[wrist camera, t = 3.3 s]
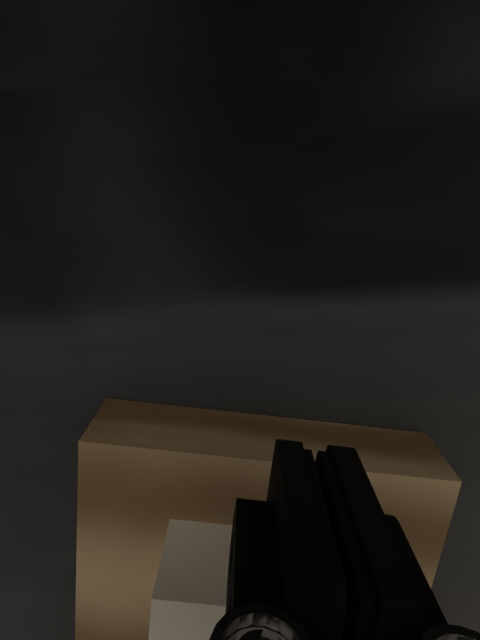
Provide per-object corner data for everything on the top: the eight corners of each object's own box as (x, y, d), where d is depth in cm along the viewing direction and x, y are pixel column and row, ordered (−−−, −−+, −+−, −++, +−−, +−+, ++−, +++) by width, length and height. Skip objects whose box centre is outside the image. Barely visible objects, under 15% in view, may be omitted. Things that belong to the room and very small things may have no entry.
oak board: (106, 397, 17) (78, 441, 14) (425, 432, 17) (462, 482, 14) (95, 708, 21) (72, 789, 18) (349, 732, 22) (365, 815, 19)
